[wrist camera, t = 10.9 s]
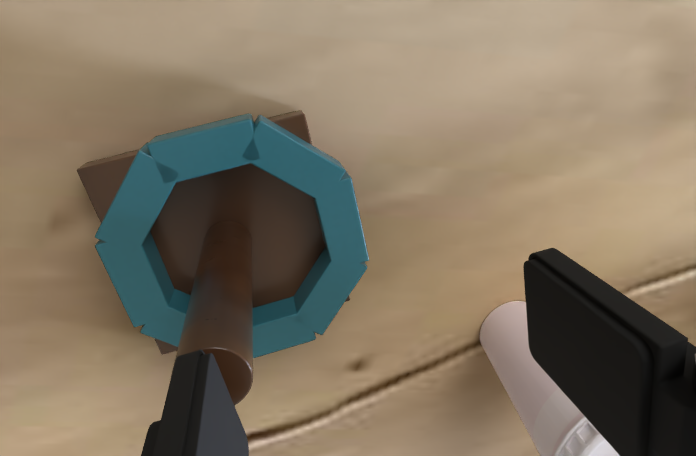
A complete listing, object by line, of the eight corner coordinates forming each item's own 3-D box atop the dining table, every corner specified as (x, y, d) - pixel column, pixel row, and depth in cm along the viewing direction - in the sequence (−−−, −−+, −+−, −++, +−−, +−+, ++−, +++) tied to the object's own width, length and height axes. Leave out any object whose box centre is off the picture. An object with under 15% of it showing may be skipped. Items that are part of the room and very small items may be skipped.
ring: (327, 93, 18) (334, 97, 17) (374, 302, 22) (382, 320, 21) (71, 156, 18) (55, 166, 16) (167, 363, 22) (161, 386, 20)
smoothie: (436, 358, 26) (614, 661, 13) (497, 261, 24) (768, 501, 12) (521, 387, 28) (747, 674, 15) (583, 301, 27) (891, 540, 14)
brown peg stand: (301, 109, 20) (347, 167, 10) (345, 288, 23) (408, 451, 14) (86, 162, 19) (-76, 277, 10) (166, 340, 22) (105, 550, 13)
